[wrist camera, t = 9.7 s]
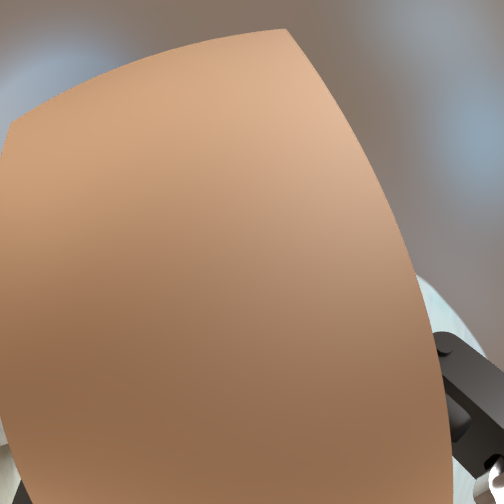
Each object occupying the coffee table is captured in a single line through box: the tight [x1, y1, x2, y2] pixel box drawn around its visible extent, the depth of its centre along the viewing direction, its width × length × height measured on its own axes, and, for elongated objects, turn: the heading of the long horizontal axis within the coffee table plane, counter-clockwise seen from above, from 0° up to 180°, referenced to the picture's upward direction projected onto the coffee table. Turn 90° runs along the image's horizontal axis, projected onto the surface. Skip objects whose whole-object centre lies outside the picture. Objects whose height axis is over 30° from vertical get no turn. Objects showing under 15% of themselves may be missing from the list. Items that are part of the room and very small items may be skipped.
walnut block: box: [0, 29, 453, 504], centre depth 11 cm, size 10×5×18 cm, turn 15°
